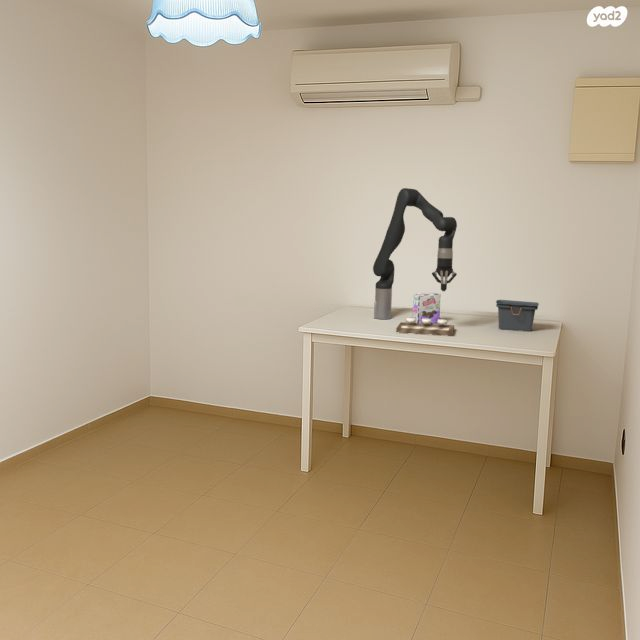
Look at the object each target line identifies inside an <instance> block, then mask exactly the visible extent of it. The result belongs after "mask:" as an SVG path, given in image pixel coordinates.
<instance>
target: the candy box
mask: <svg viewBox="0 0 640 640" xmlns="http://www.w3.org/2000/svg"><path fill="white" fill-rule="evenodd" d="M412 302H413V305H412V306H413V307H412V318H416V322H415V323H422V319H423V318H429V319H431V323H435V324H437V321H438V319H440V318H441V317H440V312H441V293H438V292H421V293H413V301H412ZM431 323H430V324H431ZM422 324H424V323H422Z"/></svg>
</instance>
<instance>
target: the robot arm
mask: <svg viewBox="0 0 640 640" xmlns="http://www.w3.org/2000/svg"><path fill="white" fill-rule="evenodd" d="M407 207H414V208H417V209H418V210H420V211H421V214H422V216H423V217H425V218H426V219H427V220H428V221H430V222H431V223H432V224H433V226H434V227H435V229H436V230H438V231H439V232H444V234H443V235H441V236H439V237H438V248H437V261H436V268H435V270H434V271H433V272H432V273H431V275H432V276H433V278H434V279H435V281H436V282H437V283H439V284H440V290H441V292H446V291H447V287H448V285H447V284H451V282H452V281H453V280H454V279H455V278H456V276H457V272H455V271H454V269H453V257H454V256H453V255H454V254H453V253H454V252H453V245H454V244H453V242H454V238H455V235H456V232H457V227H458V222H457V220H456V218H455V217H453V216H444V213H443V212H442V211H441V210H440V209H438V208H437V207H436V206H434V205H433V204H431V203H430V202H429V201H428V199H426V198H425V197H424V196H423V195H422V193H421V192H419V190H417V189H415V188H407V187H405V188H401V189H400V190H399V192H398V193H397V196H396V201H395V204H394V208H393V212H392V215H391V216H392V217H391V219H390V222H389V225H388V226H387V230H386V233H385V236H384V240H383V241H382V244H381V248H380V250H379V252H378V254H377V256H376V258H375V261H374V263H373V266H372V272H373V274H374V275H375V277H376V276H377V277H380V278H379V280H378V281H376V283H375V287H374V288H375V290H374V291H375V296H374V304H373V305H374V307H373V319H376V318H377V319H376V320H390V319H391V318H392V297H393V294H392V293H393V285H394V281H395V279H394V278H395V263H394V262H393V260H391V259H390V258H391V255H392V254H393V252H395V250H396V249H397V248H398V246H400V244H401V242H402V240H403V238H404V234H405V232H406V225H405V220H404V215H405V212H406V208H407ZM450 275H451V276H450ZM438 276H439V277H440V278H439V277H438ZM449 277H450V278H449ZM448 278H449V279H448Z"/></svg>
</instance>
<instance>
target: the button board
mask: <svg viewBox="0 0 640 640" xmlns="http://www.w3.org/2000/svg"><path fill="white" fill-rule="evenodd" d="M396 332H399V333H398V334H408V333H417V334H416V335H425V334H432V335H431V336H442V335H448V336H447V337H453V336H454V333H455V325H453V324H445V325H441V324H437V323H435V324H422V323H408V322H400V323H399V324H398V325H397V326H396V331H395V333H396Z"/></svg>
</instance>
